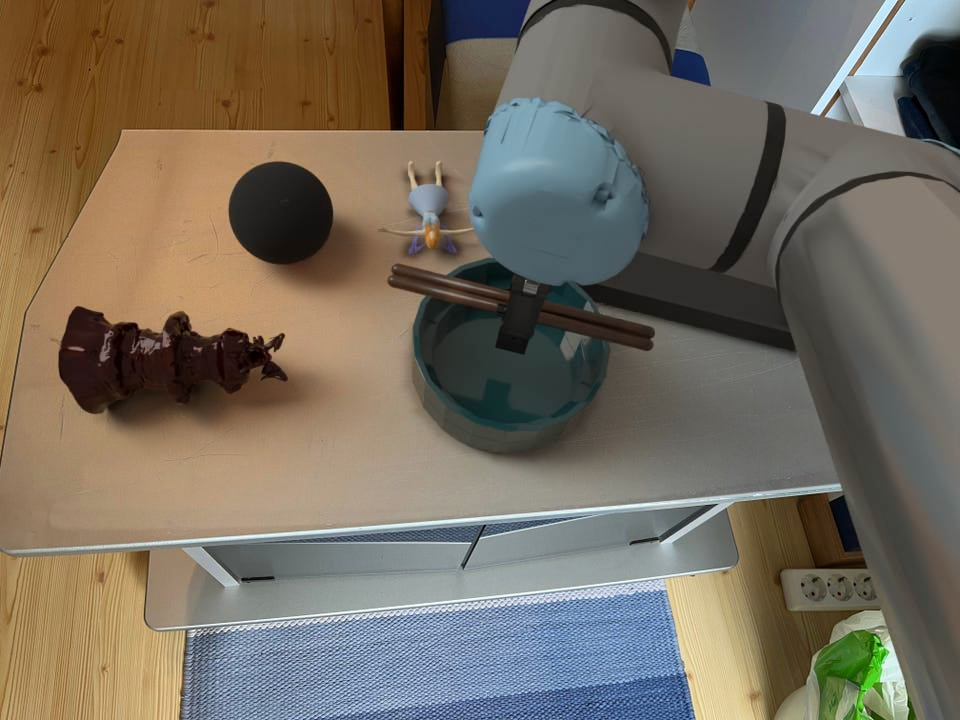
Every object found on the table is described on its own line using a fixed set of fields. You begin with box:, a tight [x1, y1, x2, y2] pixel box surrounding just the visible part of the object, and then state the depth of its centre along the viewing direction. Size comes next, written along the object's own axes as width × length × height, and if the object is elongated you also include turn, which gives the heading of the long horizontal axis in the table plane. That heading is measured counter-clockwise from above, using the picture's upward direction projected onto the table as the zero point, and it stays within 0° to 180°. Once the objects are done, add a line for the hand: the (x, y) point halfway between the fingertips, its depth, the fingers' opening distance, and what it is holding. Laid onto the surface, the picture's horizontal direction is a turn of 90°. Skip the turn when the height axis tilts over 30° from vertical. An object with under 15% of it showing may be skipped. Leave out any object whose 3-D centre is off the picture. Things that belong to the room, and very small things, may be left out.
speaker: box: [227, 160, 334, 266], centre depth 73 cm, size 10×10×10 cm
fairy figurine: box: [375, 160, 475, 255], centre depth 80 cm, size 12×5×12 cm
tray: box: [575, 251, 796, 352], centre depth 79 cm, size 11×26×3 cm, turn 77°
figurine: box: [57, 305, 289, 415], centre depth 67 cm, size 10×10×18 cm
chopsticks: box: [387, 262, 656, 352], centre depth 63 cm, size 23×2×1 cm, turn 77°
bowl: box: [410, 257, 611, 454], centre depth 71 cm, size 18×18×6 cm
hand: (513, 333), depth 67 cm, fingers closed on chopsticks, 2 cm apart
